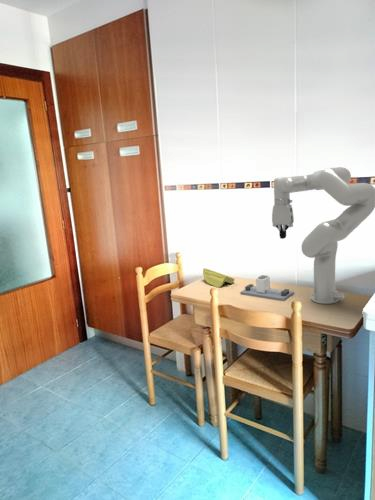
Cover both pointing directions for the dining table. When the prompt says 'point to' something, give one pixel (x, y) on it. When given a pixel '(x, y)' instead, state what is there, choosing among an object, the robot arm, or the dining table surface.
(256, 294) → the mounting plate
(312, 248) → the robot arm
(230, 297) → the dining table surface
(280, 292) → the din rail
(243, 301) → the dining table surface
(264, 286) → the block
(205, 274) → the yellow-green curved piece
